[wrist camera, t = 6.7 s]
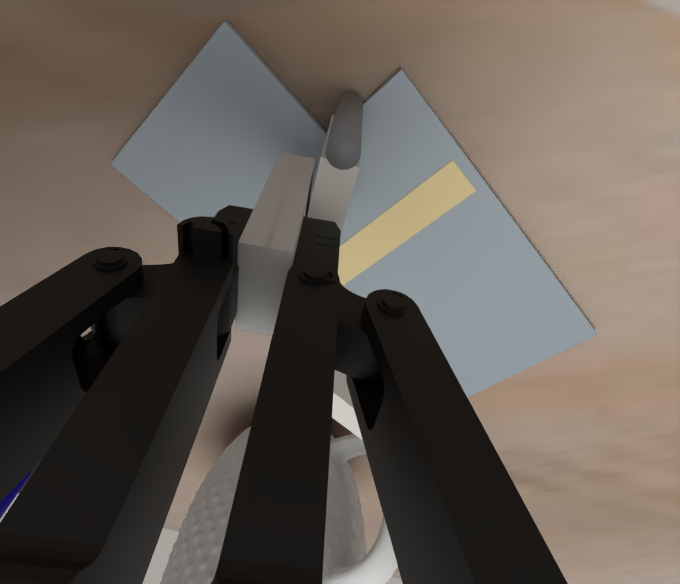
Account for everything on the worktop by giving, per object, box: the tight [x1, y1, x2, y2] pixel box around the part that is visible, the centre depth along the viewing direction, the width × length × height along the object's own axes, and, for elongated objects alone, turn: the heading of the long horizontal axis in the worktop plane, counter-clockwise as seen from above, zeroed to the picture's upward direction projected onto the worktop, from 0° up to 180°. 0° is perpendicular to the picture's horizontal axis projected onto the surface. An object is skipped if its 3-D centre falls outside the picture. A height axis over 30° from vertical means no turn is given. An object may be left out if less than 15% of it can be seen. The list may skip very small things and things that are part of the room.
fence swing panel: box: [307, 92, 363, 230], centre depth 17 cm, size 9×1×6 cm, turn 166°
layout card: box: [110, 20, 597, 398], centre depth 21 cm, size 22×12×1 cm, turn 42°
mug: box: [160, 426, 398, 584], centre depth 25 cm, size 15×11×13 cm
